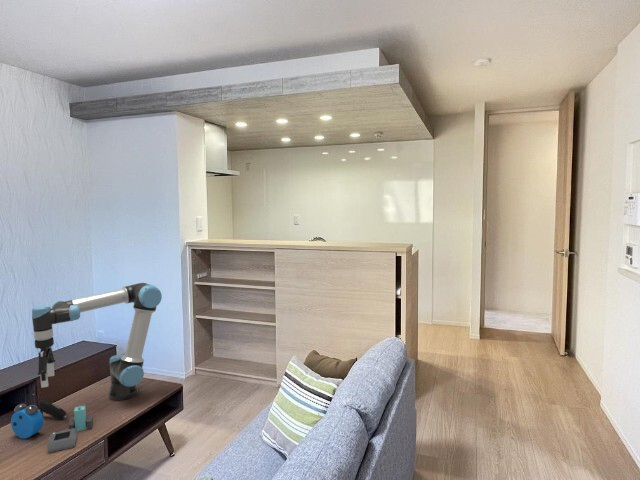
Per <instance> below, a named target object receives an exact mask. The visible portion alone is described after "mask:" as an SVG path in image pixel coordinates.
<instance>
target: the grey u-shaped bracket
mask: <svg viewBox="0 0 640 480" xmlns="http://www.w3.org/2000/svg"><path fill="white" fill-rule="evenodd" d="M93 419H94V418H93V415H87V416H86V420H87V421H86V423H87V427H86V430H87V431H89V430H92V429H93V425H94V424H93V423H94V420H93ZM67 426H68V429H73V428H75V420H74V418H73V419H72V418H71V419H70V420H69V422H68V425H67Z"/></svg>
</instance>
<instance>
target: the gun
mask: <svg viewBox="0 0 640 480" xmlns="http://www.w3.org/2000/svg"><path fill="white" fill-rule="evenodd" d="M38 406H39V408H40V409H39V411H40V412H41V414H42V416H43V417H44V413H45V414H47V415H49V416H51V417H52V418H54V419H56V420H57V421H63V420H65V419H67V417H68V416H67V411H66V410H64V409H63V408H61V407H59V406H58V405H57V404H55V403H54V402H52V401H50V400H47V399H41V400H40V401H39V403H38Z"/></svg>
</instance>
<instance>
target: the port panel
mask: <svg viewBox="0 0 640 480" xmlns="http://www.w3.org/2000/svg"><path fill="white" fill-rule="evenodd" d="M77 438H78V431H77V428H73V429H69V428H68V429H64V430H60V431H55V432H51V433H50V435H49V438H48V441H47V445H46V446H47V453H48V454H49V453H54V452H59V451H63V450H67V449H72V447H73V448H75V447H76V446H75V445H76V443H77Z"/></svg>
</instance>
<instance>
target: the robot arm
mask: <svg viewBox="0 0 640 480" xmlns="http://www.w3.org/2000/svg"><path fill="white" fill-rule="evenodd" d="M161 292H162V291H161V290H160V289H159V288H158V287H157V286H155V285H152V284H149V283H146V282H139V283H134V284H131V285H125V286H123V287H122V288H121V289H115V290H111V291H107V292H102V293H98V294H93V295H88V296H82V297H78V298H74V299H70V300H65V301H64V300H59V301H56V302H54V303H53V304H52V306H51V305H49V304H45V305H44V304H43V305H37V306H33V308H32V309H31V319H32V320H31V321H32V329H33V332H32V335H33V338H34V347H35V348H36V349H39V350H40V351H39V352H38V372H37V375H39V377H40V378H39V379H40V387H41V388H42V389H43V388H48V387H49V378H48V377H54V376H56V374H55V362H56V359H55V356H54V353H53V349H52V348H53V347H52V346H54V345H55V342H54V341H55V340H54V329H53V325H58V324H62V323H67V322H68V323H69V322H74V321H77V320H79V319H80V318H81V313H83V312H89V311H93V310H98V309H101V308H106V307H110V306H114V305H119V304H124V303H125V304H131V303H133V307H132V308H133V310H134V316H133V319H132V323H131V328H130V333H129V336H128V341H127V345H126V349H125V353H119V354H115V355H112V356H111V357H110V358H109V363H108V364H109V373H110V386H109V389H108V393H107V395H108V399H109V400H110V401H115V402H116V401H124V400H127V399H130V398H132V397H134V396H137V395H138V392H139V388H138V384H140V383H141V382H142V380H143V379H144V375H145V370H144V368H143V366H144V362H145V360H144V359H143V353H144V350H145V345H146V340H147V336H148V332H149V327H150V323H151V319H152V314H153V313H154V312H156V310H157V307H158V305H160V304H161V302H162V293H161Z"/></svg>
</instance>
